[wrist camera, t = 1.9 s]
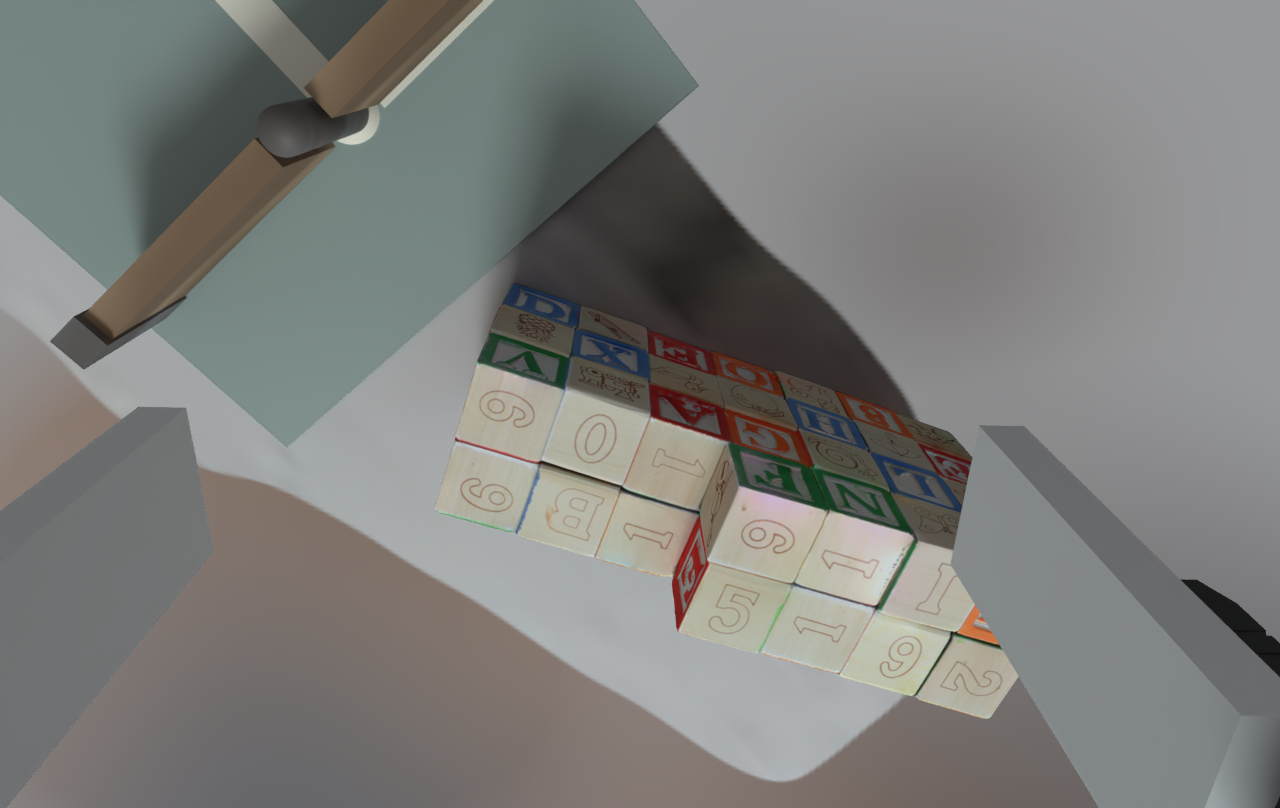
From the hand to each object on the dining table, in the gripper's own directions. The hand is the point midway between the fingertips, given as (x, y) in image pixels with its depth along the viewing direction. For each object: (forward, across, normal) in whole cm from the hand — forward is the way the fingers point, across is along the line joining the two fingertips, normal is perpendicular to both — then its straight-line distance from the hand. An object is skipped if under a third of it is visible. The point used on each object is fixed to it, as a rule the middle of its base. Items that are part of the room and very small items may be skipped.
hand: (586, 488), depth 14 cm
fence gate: (+22, -15, 0) cm, 27 cm away
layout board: (+23, -14, +6) cm, 27 cm away
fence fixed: (+23, -7, +7) cm, 25 cm away
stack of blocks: (+23, +5, -9) cm, 25 cm away
